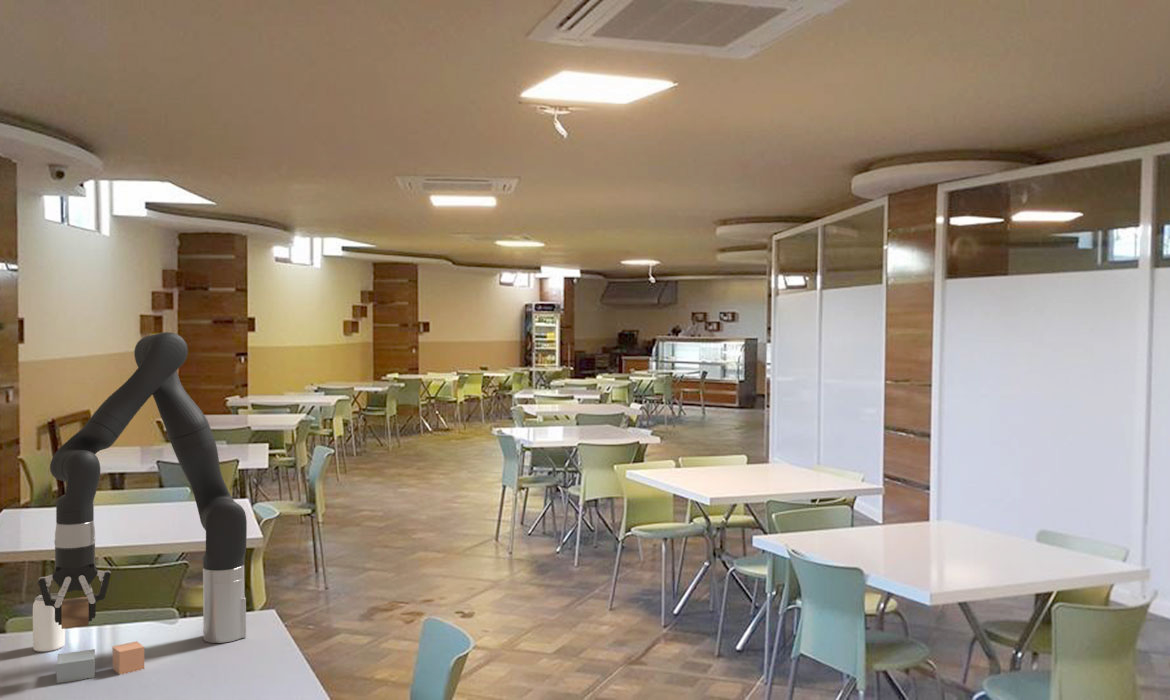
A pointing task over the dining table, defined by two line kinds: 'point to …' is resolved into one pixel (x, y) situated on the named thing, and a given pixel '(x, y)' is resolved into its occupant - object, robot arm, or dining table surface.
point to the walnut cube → (75, 612)
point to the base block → (75, 666)
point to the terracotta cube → (128, 657)
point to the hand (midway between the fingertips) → (75, 621)
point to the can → (46, 627)
